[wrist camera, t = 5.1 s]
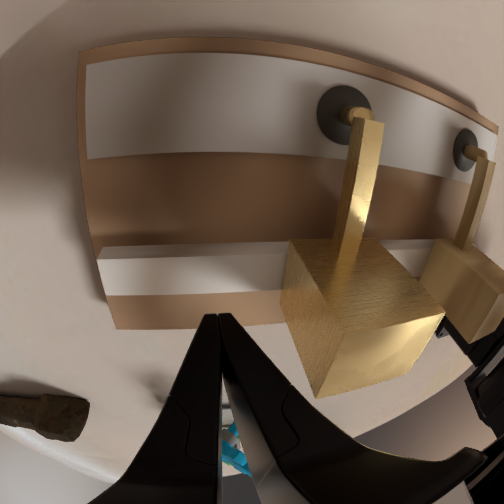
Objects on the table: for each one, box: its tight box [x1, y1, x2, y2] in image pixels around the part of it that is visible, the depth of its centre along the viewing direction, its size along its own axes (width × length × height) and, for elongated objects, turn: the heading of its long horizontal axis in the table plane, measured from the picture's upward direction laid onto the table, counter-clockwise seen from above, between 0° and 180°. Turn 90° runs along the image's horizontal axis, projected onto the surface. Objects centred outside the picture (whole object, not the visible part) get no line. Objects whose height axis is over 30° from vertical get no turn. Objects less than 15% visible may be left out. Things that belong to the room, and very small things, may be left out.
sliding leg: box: [279, 106, 446, 399], centre depth 9 cm, size 4×8×6 cm, turn 176°
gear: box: [222, 421, 252, 477], centre depth 20 cm, size 11×6×10 cm
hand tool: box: [0, 394, 90, 442], centre depth 17 cm, size 19×4×5 cm, turn 99°
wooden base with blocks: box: [77, 37, 504, 344], centre depth 10 cm, size 22×13×8 cm, turn 86°
